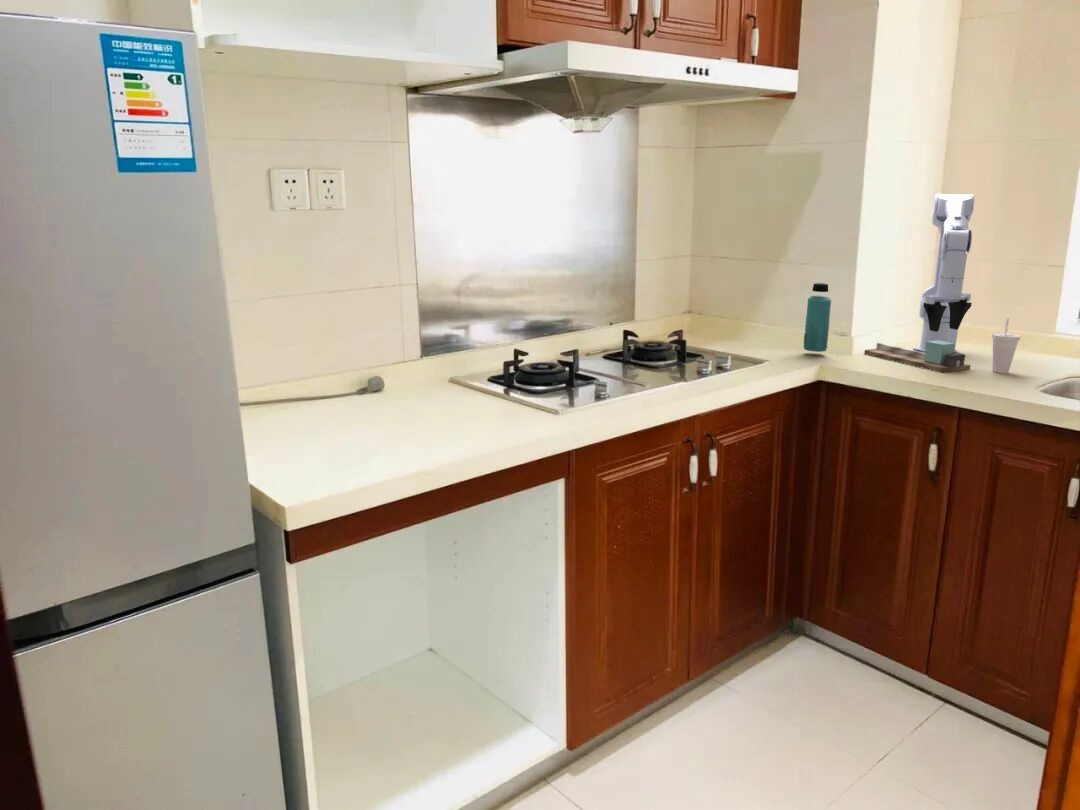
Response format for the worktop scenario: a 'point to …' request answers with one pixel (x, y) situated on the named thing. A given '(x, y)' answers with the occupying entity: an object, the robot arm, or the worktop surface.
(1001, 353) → the smoothie
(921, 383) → the worktop surface
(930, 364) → the track
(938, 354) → the block
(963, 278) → the robot arm
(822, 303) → the beverage bottle
